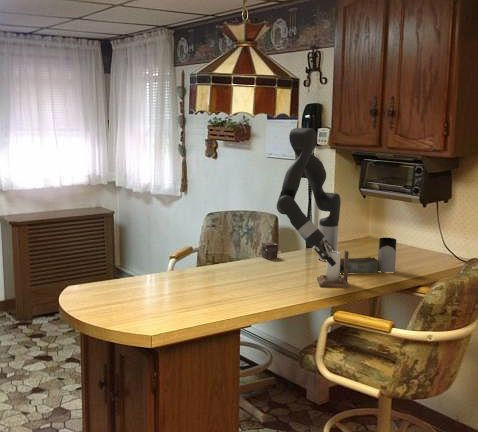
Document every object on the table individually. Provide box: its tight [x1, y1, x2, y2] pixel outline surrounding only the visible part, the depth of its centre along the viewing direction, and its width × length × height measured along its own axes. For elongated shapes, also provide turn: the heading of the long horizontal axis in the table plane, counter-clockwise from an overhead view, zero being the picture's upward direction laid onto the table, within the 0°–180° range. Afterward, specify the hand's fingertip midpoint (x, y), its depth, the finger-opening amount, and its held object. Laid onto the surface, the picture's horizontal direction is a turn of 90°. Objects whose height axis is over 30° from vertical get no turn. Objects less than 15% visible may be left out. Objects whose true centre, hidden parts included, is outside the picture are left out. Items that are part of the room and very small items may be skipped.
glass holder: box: [377, 237, 397, 272], centre depth 270 cm, size 9×14×15 cm, turn 166°
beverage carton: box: [340, 256, 379, 275], centre depth 266 cm, size 8×19×7 cm, turn 93°
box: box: [261, 241, 279, 260], centre depth 291 cm, size 6×6×7 cm
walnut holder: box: [316, 249, 350, 289], centre depth 246 cm, size 12×12×14 cm
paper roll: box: [325, 251, 342, 281], centre depth 246 cm, size 6×6×12 cm
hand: (336, 262), depth 245 cm, fingers open, 8 cm apart
